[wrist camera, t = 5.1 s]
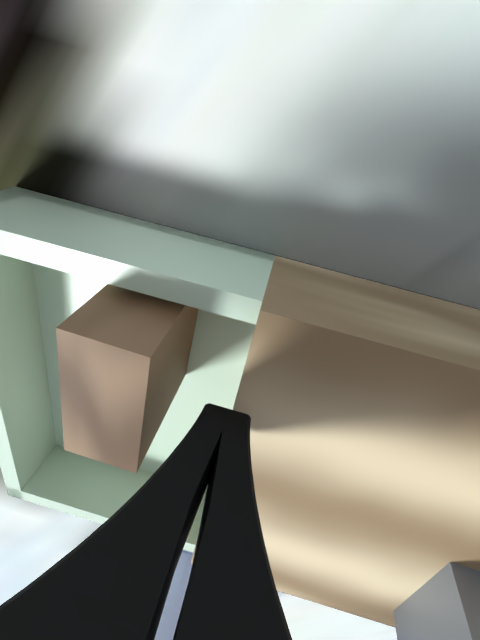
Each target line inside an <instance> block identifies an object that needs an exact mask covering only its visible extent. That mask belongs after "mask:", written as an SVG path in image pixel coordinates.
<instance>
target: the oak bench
mask: <svg viewBox="0 0 480 640" xmlns="http://www.w3.org/2000/svg"><path fill="white" fill-rule="evenodd" d="M233 410H235V411H238V412H242V413H245V414H248V415H249V416H250V417H251V423H250V449H251V463H252V473H253V481H254V489H255V495H256V502H257V507H258V513H259V518H260V524H261V529H262V534H263V538H264V543H265V547H266V551H267V555H268V559H269V563H270V567H271V571H272V575H273V579H274V582H275V586H276V590H277V591H280V592H284V593H287V594H290V595H293V596H296V597H300V598H303V599H306V600H309V601H312V602H316V603H319V604H322V605H325V606H328V607H332V608H335V609H338V610H341V611H344V612H348V613H351V614H354V615H357V616H360V617H364V618H367V619H370V620H373V621H376V622H380V623H383V624H386V625H389V626H392V627H396V626H395V619H394V612H393V611H394V610H395V609H396V608H397V607H398V606H399V605H401V604H402V603H403V602H404V601H405V600H406V599H408V598H409V597H410V596H411V595H412V594H413V593H415V592H416V591H417V590H418V589H419V588H420V587H421V586H423V585H424V584H425V583H426V582H427V581H428V580H430V579H431V578H432V577H433V576H434V575H435V574H436V573H438V572H439V571H440V570H441V569H442V568H443V567H445V566H446V565H447V564H448V563H449V562H452V563H456V564H459V565H462V566H466V567H469V568H472V569H475V570H479V571H480V310H479V309H475V308H471V307H467V306H464V305H460V304H456V303H452V302H449V301H445V300H441V299H437V298H434V297H430V296H426V295H422V294H419V293H415V292H411V291H407V290H403V289H400V288H396V287H392V286H388V285H385V284H381V283H377V282H373V281H370V280H366V279H362V278H358V277H355V276H351V275H347V274H343V273H339V272H336V271H332V270H328V269H324V268H321V267H317V266H313V265H309V264H306V263H302V262H298V261H294V260H291V259H287V258H283V257H279V256H275V258H274V262H273V265H272V269H271V272H270V276H269V280H268V283H267V287H266V290H265V294H264V297H263V301H262V305H261V308H260V312H259V315H258V319H257V323H256V326H255V330H254V334H253V337H252V341H251V345H250V348H249V352H248V355H247V359H246V363H245V366H244V370H243V374H242V377H241V381H240V385H239V388H238V392H237V395H236V399H235V403H234V406H233ZM197 538H198V537H197ZM196 543H197V541H196ZM195 548H196V545H195ZM195 548H194V552H193V556H192V559H191V564H193V558H194V553H195Z"/></svg>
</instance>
